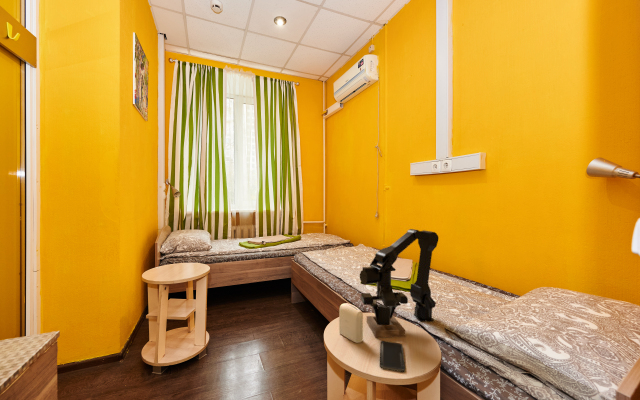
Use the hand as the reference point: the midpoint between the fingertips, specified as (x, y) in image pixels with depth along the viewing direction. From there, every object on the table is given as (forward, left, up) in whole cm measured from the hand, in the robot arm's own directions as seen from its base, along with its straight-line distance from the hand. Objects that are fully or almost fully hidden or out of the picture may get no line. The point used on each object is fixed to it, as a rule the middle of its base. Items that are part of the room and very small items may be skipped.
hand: (383, 318), depth 106 cm
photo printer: (+16, +7, -4) cm, 17 cm away
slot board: (0, +2, -3) cm, 4 cm away
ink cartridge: (0, 0, -3) cm, 3 cm away
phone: (+4, +20, -4) cm, 21 cm away
